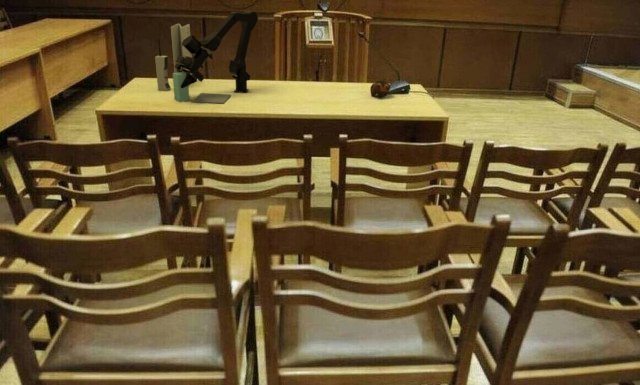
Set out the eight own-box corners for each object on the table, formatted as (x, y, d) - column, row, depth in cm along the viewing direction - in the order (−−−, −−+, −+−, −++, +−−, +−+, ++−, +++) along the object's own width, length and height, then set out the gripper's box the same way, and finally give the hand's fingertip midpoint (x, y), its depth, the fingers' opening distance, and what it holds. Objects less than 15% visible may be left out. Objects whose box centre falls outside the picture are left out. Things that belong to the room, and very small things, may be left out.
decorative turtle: (365, 98, 254) (366, 82, 250) (375, 92, 266) (376, 77, 263) (383, 100, 250) (385, 84, 247) (392, 94, 263) (394, 79, 259)
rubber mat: (201, 94, 248) (201, 93, 247) (231, 95, 247) (231, 94, 247) (191, 102, 233) (191, 101, 233) (223, 104, 232) (223, 102, 232)
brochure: (186, 87, 258) (181, 27, 246) (175, 87, 258) (170, 26, 246) (193, 81, 271) (189, 24, 259) (183, 81, 271) (178, 23, 259)
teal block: (174, 99, 236) (172, 73, 231) (184, 98, 239) (182, 72, 234) (179, 102, 233) (177, 75, 228) (189, 100, 236) (187, 73, 231)
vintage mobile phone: (167, 91, 250) (162, 39, 240) (158, 90, 251) (153, 38, 241) (170, 89, 254) (166, 38, 243) (161, 88, 254) (156, 37, 244)
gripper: (176, 45, 235) (156, 72, 233) (196, 51, 222) (175, 79, 220) (192, 61, 243) (173, 86, 241) (212, 68, 230) (192, 94, 228)
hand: (178, 86), depth 232 cm, fingers open, 5 cm apart
